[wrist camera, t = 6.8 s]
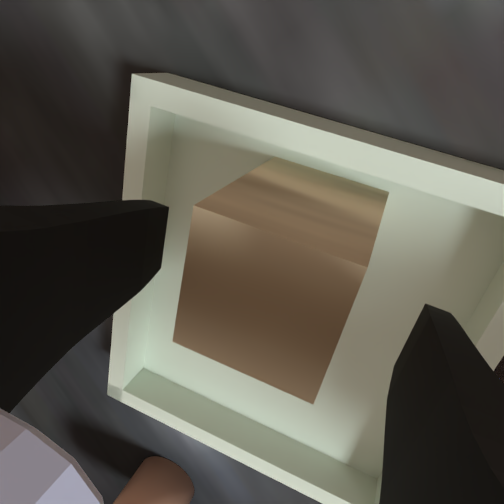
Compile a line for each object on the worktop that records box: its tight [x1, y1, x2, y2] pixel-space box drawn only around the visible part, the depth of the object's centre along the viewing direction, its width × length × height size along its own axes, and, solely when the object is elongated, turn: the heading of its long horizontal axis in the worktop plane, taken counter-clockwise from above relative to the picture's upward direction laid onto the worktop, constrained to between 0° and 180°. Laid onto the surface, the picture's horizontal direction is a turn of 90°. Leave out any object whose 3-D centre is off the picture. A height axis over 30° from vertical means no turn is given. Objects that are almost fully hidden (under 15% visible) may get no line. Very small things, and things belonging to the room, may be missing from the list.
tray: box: [107, 73, 504, 504], centre depth 16 cm, size 14×15×2 cm
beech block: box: [172, 157, 389, 404], centre depth 12 cm, size 4×4×6 cm
